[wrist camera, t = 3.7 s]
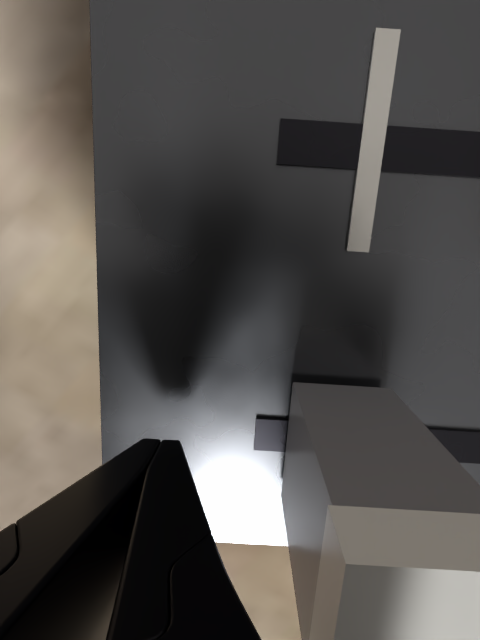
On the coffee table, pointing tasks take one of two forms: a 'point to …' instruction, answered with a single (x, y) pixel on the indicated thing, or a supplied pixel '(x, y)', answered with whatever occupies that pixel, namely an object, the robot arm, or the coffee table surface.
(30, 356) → the coffee table surface
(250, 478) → the board
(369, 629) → the fader
